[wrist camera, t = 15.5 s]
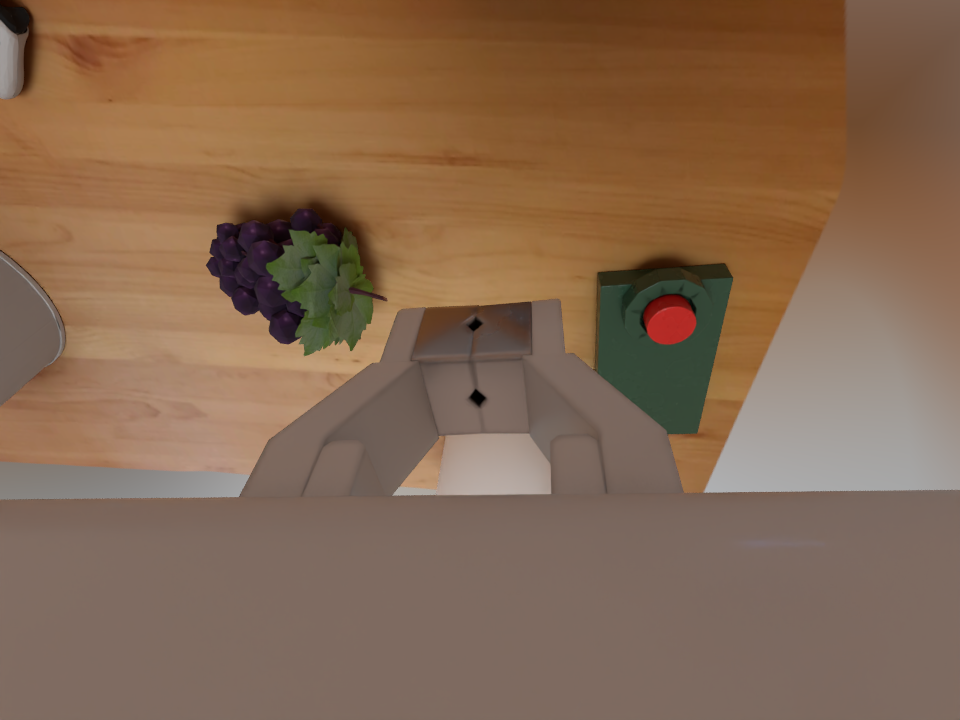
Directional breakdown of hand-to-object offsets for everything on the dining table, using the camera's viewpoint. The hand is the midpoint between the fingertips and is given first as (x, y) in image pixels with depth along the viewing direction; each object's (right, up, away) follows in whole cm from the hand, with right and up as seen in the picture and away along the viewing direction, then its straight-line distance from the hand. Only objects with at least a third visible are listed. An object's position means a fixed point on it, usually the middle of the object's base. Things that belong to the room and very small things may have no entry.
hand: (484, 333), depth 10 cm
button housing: (+16, 0, +37) cm, 40 cm away
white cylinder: (+2, -9, +46) cm, 47 cm away
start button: (+15, +3, +30) cm, 33 cm away
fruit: (-14, +9, +32) cm, 36 cm away
